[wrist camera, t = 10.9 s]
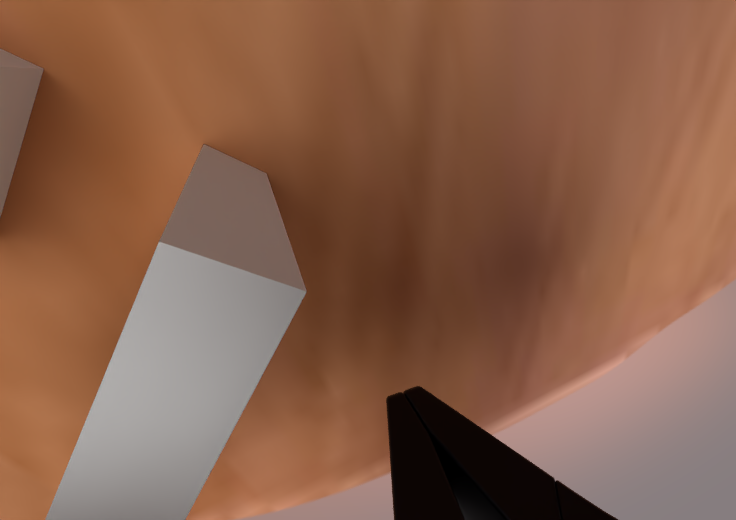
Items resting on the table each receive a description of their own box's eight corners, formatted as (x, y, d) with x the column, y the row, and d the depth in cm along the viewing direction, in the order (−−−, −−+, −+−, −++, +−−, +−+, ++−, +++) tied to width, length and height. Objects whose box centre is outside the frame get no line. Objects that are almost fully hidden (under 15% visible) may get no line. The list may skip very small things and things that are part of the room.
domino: (266, 173, 12) (306, 291, 6) (207, 299, 14) (181, 527, 7) (203, 144, 12) (159, 241, 5) (146, 282, 13) (43, 523, 6)
